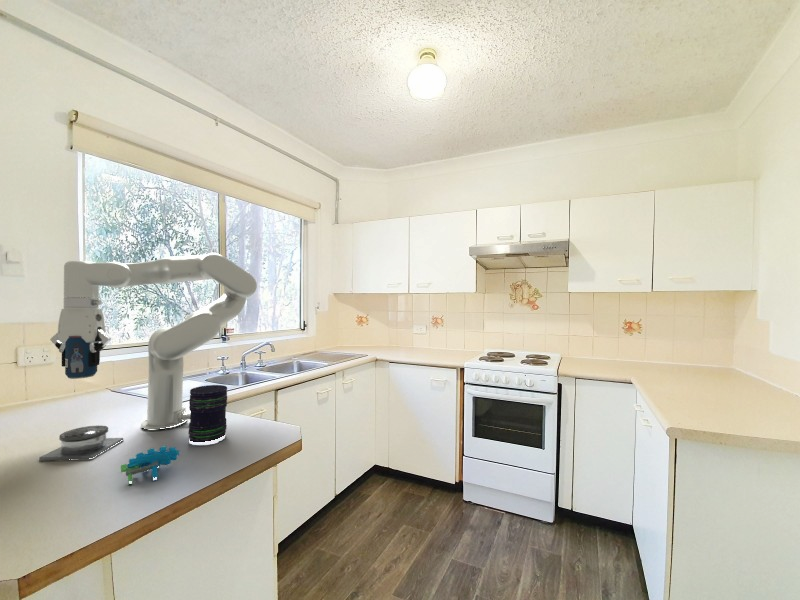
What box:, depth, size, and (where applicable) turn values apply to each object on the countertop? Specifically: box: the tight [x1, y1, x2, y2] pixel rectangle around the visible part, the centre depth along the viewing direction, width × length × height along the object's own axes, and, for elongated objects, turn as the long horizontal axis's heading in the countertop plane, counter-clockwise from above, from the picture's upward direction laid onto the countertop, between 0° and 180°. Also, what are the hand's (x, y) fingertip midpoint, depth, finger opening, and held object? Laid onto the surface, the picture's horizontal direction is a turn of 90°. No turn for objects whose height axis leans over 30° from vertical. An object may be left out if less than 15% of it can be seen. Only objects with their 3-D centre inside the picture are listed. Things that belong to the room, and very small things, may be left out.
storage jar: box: [187, 384, 228, 442], centre depth 104 cm, size 10×10×15 cm
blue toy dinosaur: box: [120, 445, 180, 482], centre depth 81 cm, size 11×6×10 cm
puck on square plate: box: [38, 425, 124, 462], centre depth 95 cm, size 12×12×5 cm
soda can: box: [64, 336, 98, 380], centre depth 102 cm, size 7×7×12 cm
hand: (80, 365), depth 102 cm, fingers closed on soda can, 6 cm apart
